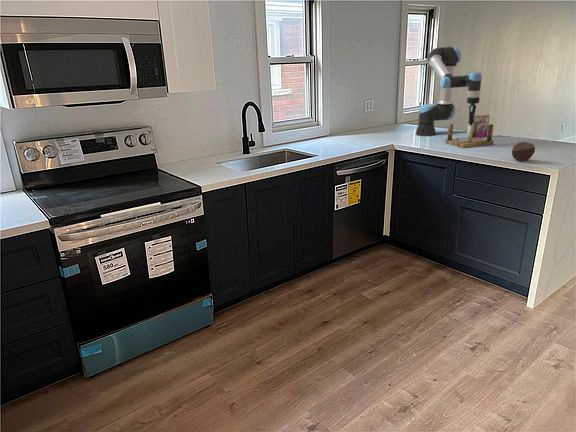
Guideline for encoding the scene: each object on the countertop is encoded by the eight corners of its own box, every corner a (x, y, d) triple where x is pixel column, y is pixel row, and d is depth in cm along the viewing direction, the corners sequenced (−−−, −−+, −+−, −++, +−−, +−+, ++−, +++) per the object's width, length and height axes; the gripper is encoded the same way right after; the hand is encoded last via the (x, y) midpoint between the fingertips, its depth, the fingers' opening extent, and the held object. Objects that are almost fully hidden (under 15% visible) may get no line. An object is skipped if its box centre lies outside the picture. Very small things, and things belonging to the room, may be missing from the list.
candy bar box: (471, 138, 313) (473, 115, 308) (469, 136, 318) (471, 114, 312) (487, 137, 312) (489, 115, 306) (485, 136, 317) (487, 114, 311)
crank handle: (454, 141, 291) (455, 125, 287) (454, 141, 294) (456, 125, 290) (471, 142, 287) (472, 126, 283) (471, 141, 289) (473, 125, 285)
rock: (514, 155, 238) (507, 142, 244) (512, 166, 247) (505, 154, 252) (537, 149, 236) (530, 136, 242) (534, 160, 244) (527, 148, 250)
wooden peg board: (445, 143, 302) (446, 124, 297) (474, 139, 307) (476, 121, 302) (462, 148, 283) (464, 128, 279) (493, 144, 289) (495, 124, 284)
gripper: (468, 96, 288) (466, 130, 297) (466, 98, 278) (463, 133, 286) (480, 95, 284) (477, 130, 293) (478, 98, 274) (475, 134, 283)
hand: (470, 132), depth 290 cm, fingers closed
